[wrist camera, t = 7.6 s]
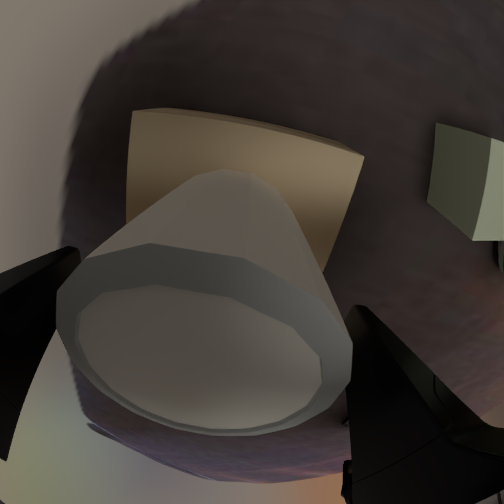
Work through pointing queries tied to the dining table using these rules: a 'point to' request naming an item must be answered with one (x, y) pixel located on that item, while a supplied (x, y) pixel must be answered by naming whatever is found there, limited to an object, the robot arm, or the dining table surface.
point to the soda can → (501, 256)
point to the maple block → (243, 165)
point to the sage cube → (468, 182)
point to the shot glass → (209, 313)
